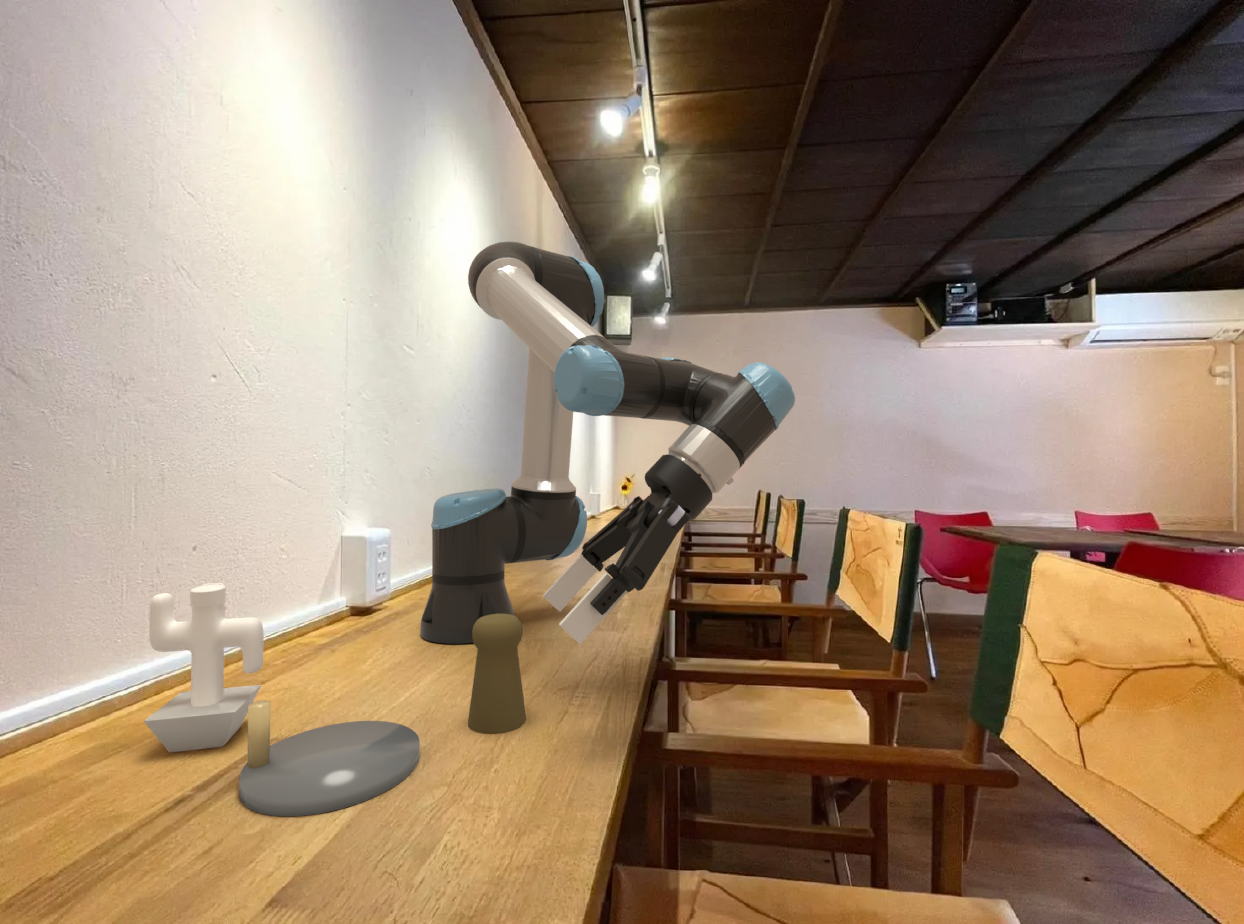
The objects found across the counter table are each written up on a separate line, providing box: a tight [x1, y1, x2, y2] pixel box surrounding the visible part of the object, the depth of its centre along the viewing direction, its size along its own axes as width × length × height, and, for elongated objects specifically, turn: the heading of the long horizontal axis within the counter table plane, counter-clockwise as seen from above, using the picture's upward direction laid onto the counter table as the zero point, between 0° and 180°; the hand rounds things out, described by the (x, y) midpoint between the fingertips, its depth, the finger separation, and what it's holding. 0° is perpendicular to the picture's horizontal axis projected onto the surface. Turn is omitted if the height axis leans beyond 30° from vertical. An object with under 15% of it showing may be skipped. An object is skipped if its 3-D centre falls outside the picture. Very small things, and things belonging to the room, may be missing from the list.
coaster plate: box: [238, 700, 421, 817], centre depth 50 cm, size 14×14×6 cm
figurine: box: [143, 582, 264, 753], centre depth 56 cm, size 7×9×15 cm
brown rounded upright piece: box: [467, 614, 527, 735], centre depth 60 cm, size 6×6×11 cm
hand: (559, 617), depth 60 cm, fingers open, 13 cm apart
